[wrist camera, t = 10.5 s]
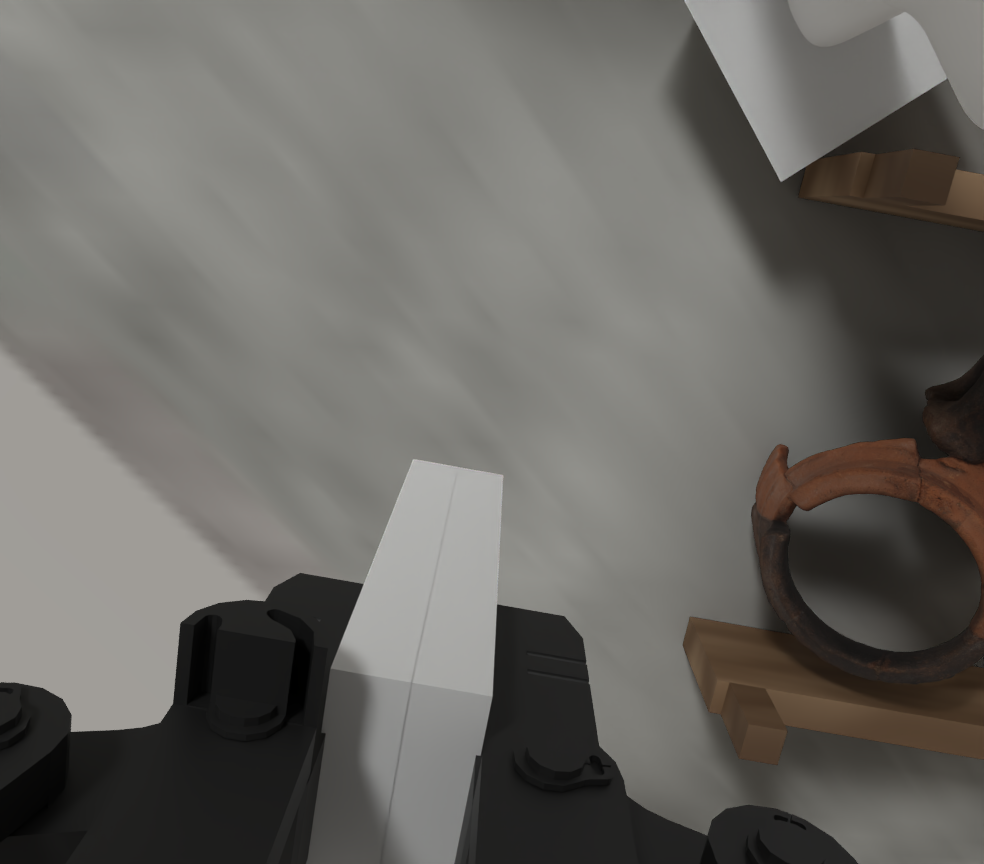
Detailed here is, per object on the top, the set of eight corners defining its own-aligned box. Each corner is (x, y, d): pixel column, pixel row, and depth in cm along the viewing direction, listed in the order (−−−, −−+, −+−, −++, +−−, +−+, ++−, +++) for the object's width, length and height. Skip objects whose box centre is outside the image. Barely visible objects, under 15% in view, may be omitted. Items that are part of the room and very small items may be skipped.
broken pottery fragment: (988, 626, 33) (970, 764, 27) (754, 518, 37) (689, 616, 30) (1166, 344, 28) (1199, 432, 21) (868, 248, 31) (817, 297, 25)
